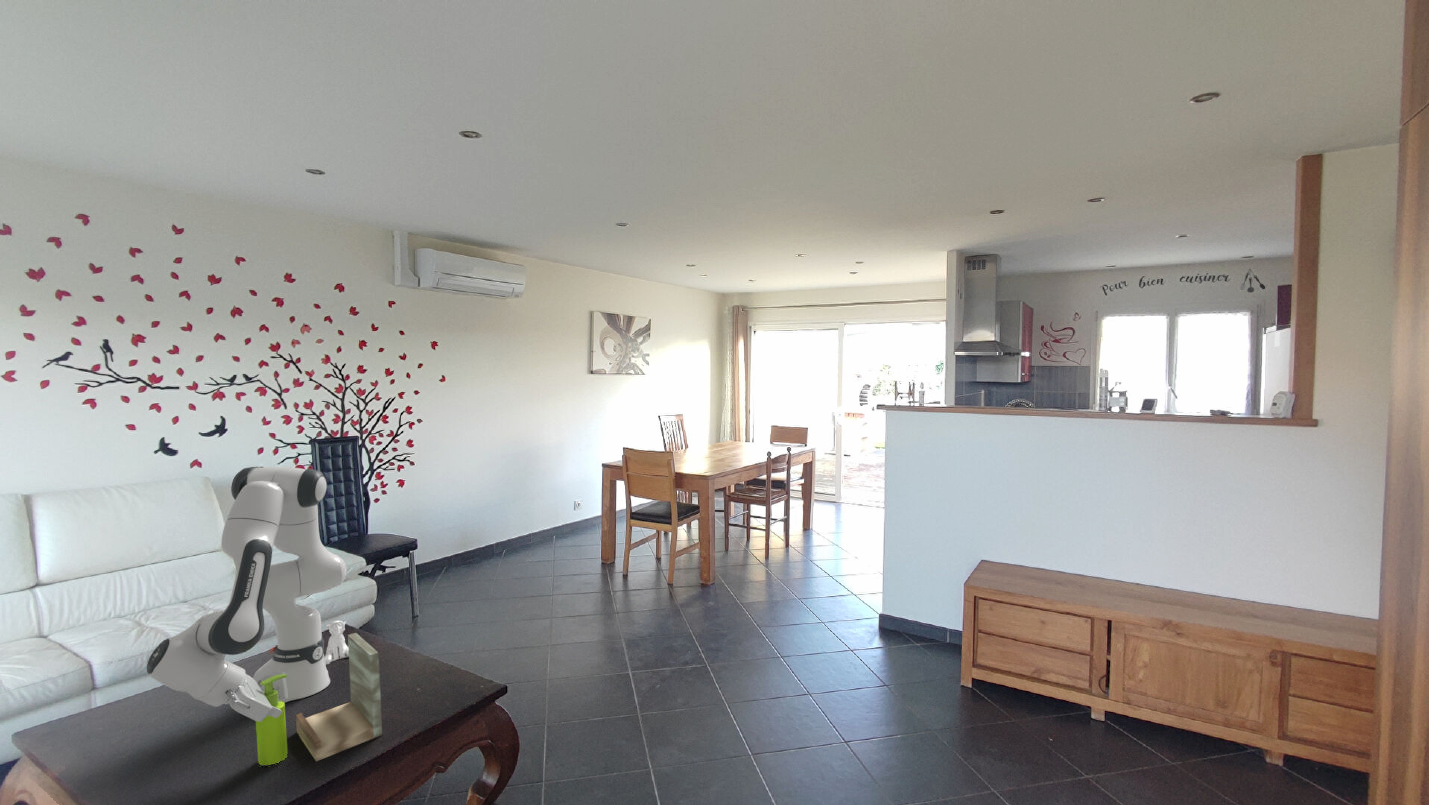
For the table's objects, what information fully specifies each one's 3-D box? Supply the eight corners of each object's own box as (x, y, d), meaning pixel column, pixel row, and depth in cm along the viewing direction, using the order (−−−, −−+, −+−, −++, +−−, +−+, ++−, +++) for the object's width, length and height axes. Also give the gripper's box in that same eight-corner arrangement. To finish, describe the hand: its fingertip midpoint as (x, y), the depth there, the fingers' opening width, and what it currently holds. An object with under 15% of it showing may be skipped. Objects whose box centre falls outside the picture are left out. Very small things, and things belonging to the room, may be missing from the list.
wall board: (316, 761, 152) (311, 673, 151) (296, 732, 164) (292, 651, 163) (382, 734, 163) (378, 652, 162) (359, 709, 175) (355, 632, 174)
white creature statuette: (323, 666, 201) (322, 629, 201) (317, 657, 207) (315, 622, 207) (356, 656, 208) (355, 621, 207) (349, 648, 214) (348, 614, 213)
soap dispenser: (297, 753, 155) (292, 674, 154) (267, 769, 149) (262, 687, 148) (282, 747, 158) (278, 670, 157) (252, 763, 152) (248, 683, 151)
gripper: (243, 687, 140) (296, 711, 147) (226, 658, 154) (276, 682, 162) (219, 714, 137) (275, 738, 145) (204, 683, 151) (256, 705, 159)
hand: (275, 708), depth 153 cm, fingers closed on soap dispenser, 6 cm apart
